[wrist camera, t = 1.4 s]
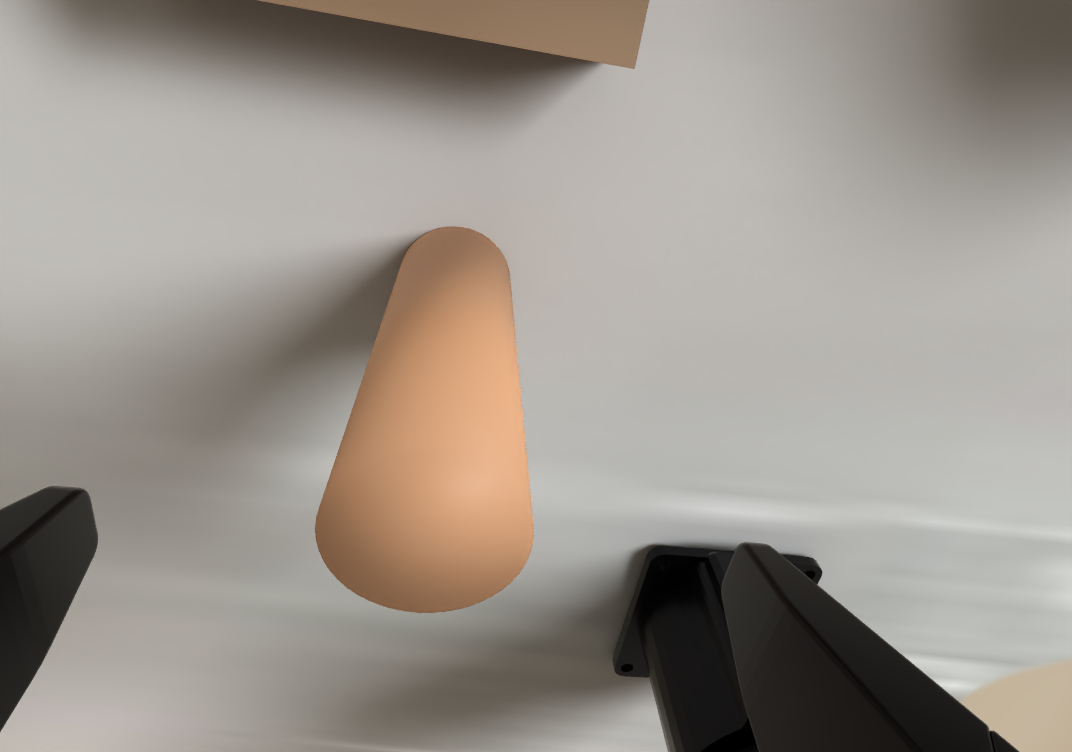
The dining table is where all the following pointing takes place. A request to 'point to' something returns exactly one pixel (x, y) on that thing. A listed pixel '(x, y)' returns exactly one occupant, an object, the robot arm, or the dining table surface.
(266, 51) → the dining table surface
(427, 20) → the hole block
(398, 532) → the peg
